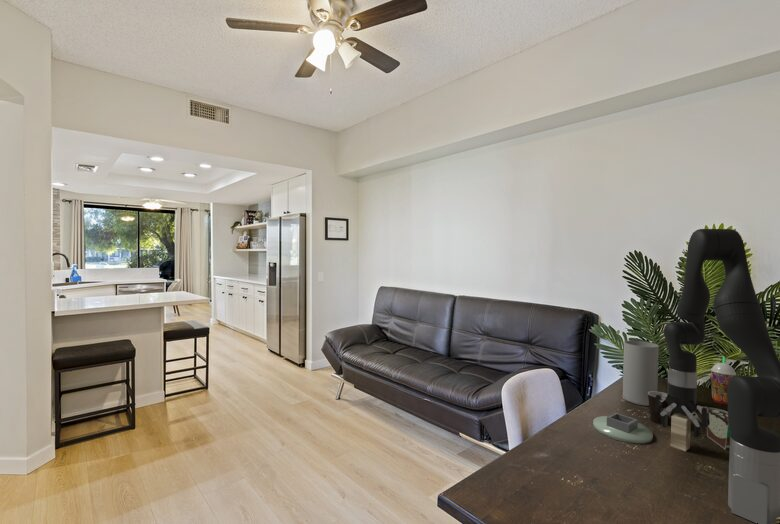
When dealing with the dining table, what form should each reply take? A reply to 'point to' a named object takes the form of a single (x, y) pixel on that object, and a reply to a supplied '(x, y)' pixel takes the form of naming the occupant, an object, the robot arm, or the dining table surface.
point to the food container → (719, 427)
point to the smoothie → (721, 381)
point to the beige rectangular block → (680, 432)
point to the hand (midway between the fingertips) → (680, 431)
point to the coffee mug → (655, 415)
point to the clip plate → (623, 428)
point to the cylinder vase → (639, 371)
